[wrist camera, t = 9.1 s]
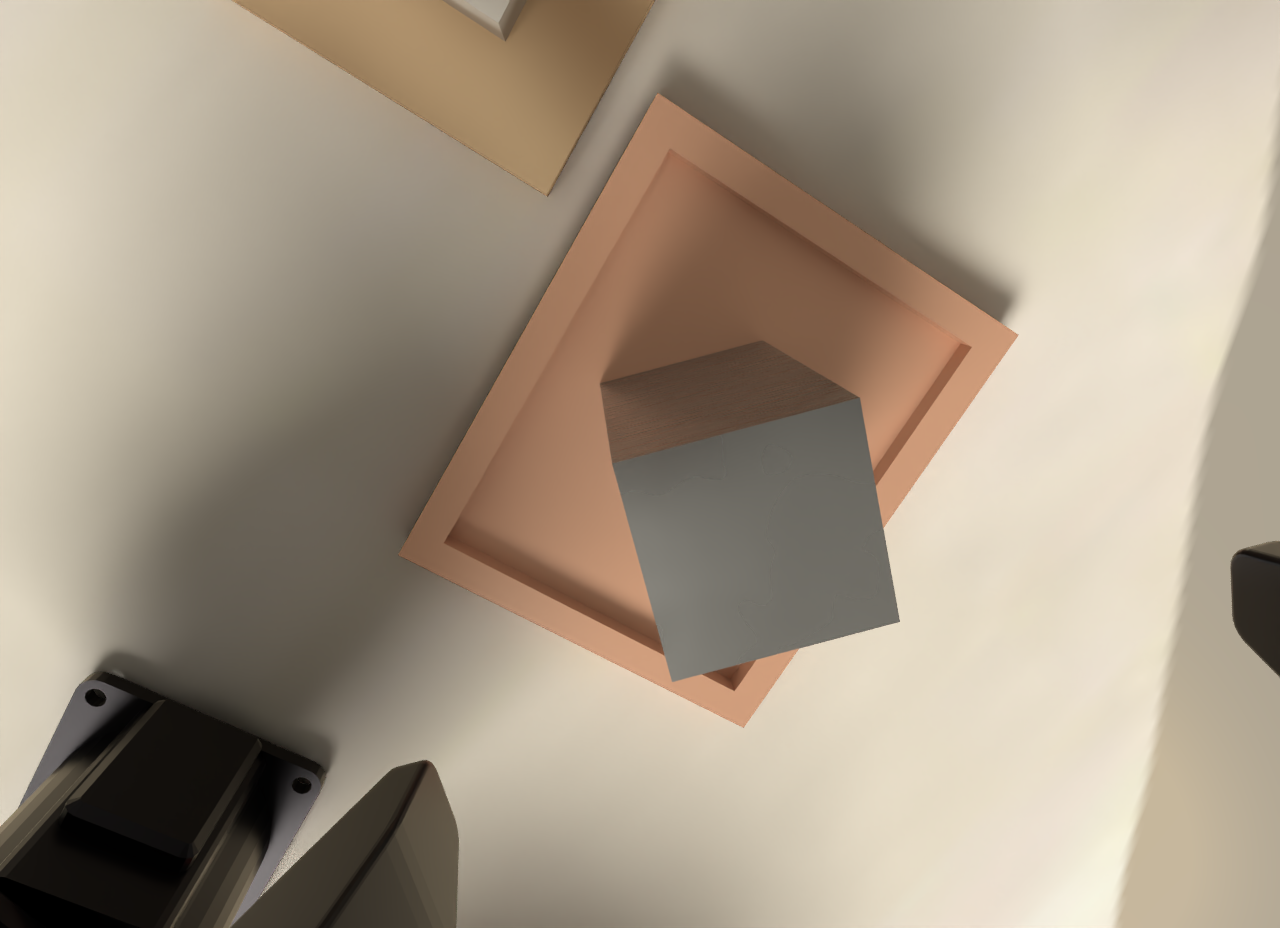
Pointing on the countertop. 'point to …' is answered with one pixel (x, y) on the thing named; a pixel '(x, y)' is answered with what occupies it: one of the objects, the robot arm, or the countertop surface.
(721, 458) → the strut
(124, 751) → the robot arm
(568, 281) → the tray
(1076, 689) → the countertop surface
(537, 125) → the stud base
